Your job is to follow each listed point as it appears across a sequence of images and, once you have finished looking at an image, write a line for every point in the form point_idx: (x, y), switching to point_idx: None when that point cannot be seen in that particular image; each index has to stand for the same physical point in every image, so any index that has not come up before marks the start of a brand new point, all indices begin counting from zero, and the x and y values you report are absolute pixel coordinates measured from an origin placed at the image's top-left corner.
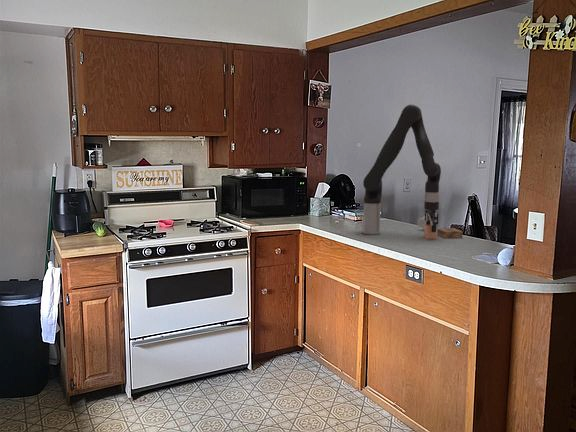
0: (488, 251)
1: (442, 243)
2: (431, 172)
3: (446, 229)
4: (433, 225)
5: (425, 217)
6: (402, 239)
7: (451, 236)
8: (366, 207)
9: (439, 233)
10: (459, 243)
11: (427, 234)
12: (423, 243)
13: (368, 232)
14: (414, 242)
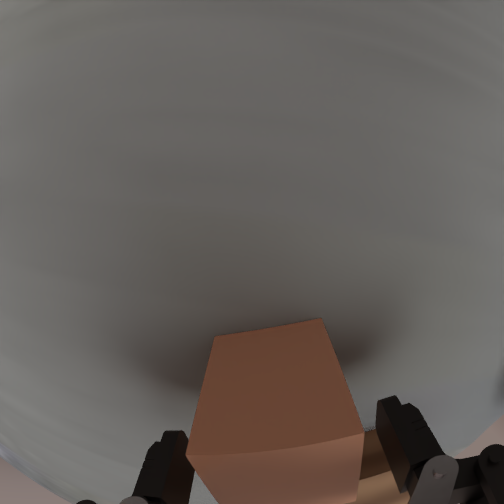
0: (19, 465)
1: (60, 395)
2: None
3: (373, 498)
4: (131, 498)
5: (493, 496)
6: (144, 53)
7: None
8: None
9: (368, 449)
10: (108, 467)
11: (208, 370)
12: (8, 261)
13: None
14: (21, 184)
